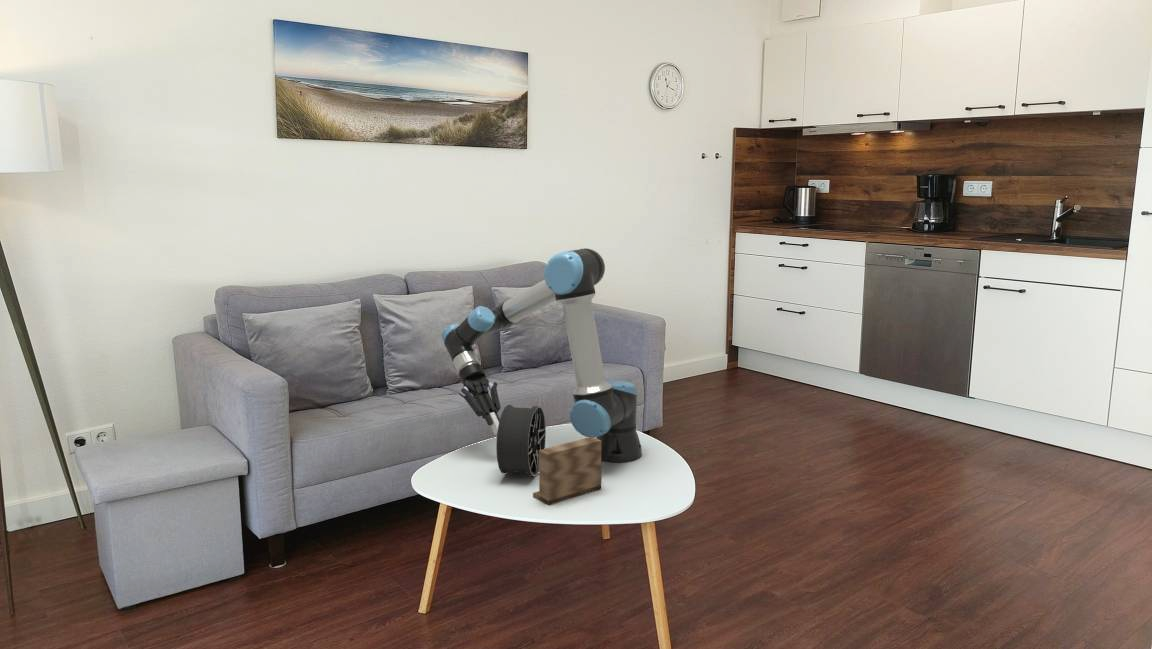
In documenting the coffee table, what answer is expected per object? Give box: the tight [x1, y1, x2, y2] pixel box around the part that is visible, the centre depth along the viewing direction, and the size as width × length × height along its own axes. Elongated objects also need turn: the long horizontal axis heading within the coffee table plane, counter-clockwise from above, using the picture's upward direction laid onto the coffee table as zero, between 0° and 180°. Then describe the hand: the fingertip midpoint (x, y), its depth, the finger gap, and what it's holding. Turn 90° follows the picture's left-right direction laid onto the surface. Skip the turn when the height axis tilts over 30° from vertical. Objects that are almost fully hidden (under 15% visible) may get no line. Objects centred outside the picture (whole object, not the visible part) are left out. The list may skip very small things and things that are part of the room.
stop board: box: [532, 437, 602, 506], centre depth 222 cm, size 18×7×14 cm, turn 128°
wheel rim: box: [495, 404, 547, 477], centre depth 237 cm, size 20×9×20 cm, turn 168°
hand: (498, 432), depth 246 cm, fingers closed
